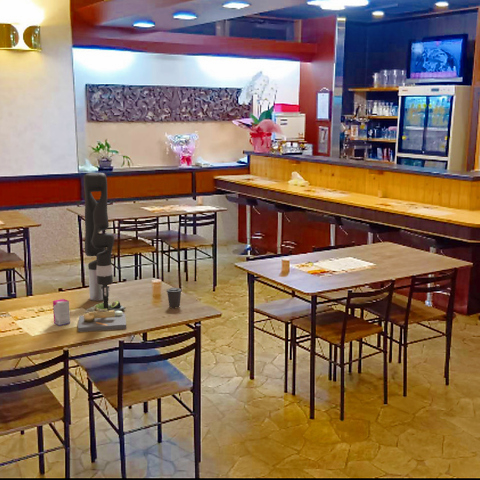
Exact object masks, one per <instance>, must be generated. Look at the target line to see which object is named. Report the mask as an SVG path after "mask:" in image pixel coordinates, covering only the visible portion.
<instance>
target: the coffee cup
mask: <svg viewBox="0 0 480 480" xmlns="http://www.w3.org/2000/svg"><path fill="white" fill-rule="evenodd" d="M182 291H183V290H182V289H181V288H180V287H170V288H168V289H166V293H167V294H166V295H167V299H168V306H169V307H168V308H170V307H172V308H171V309H176V308H175V307H179V306H180V305H181V304H180V303H181V294H182ZM179 308H180V307H179Z"/></svg>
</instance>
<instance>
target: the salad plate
mask: <svg viewBox="0 0 480 480" xmlns="http://www.w3.org/2000/svg"><path fill="white" fill-rule="evenodd" d="M126 308H127V307H126V306H125V307H124V305H121V303H120V301H119V300H115V301H113V302H112V303H109V302H108V308H106V309H104V302H100V303H97V304H95V305H93V306H91V307H89V308H87V309H86V313H89V312H95V311H111V310H115V312H116V311H122V312H123V311H124V310H125V309H126Z"/></svg>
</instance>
